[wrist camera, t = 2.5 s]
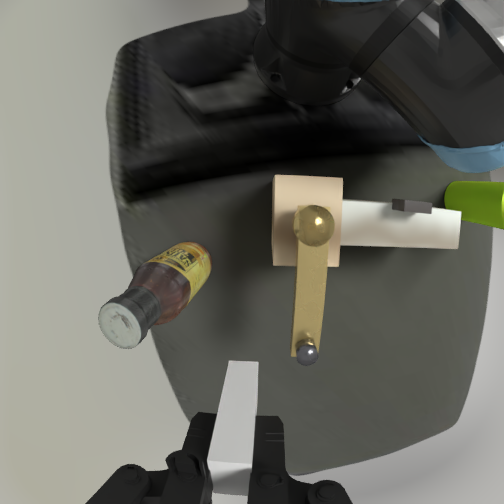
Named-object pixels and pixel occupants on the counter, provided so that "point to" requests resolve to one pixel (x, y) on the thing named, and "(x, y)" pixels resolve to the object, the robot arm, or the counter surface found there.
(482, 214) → the soap dispenser
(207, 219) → the counter surface
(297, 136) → the counter surface
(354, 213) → the door frame
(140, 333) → the sauce bottle
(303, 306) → the swing bar
